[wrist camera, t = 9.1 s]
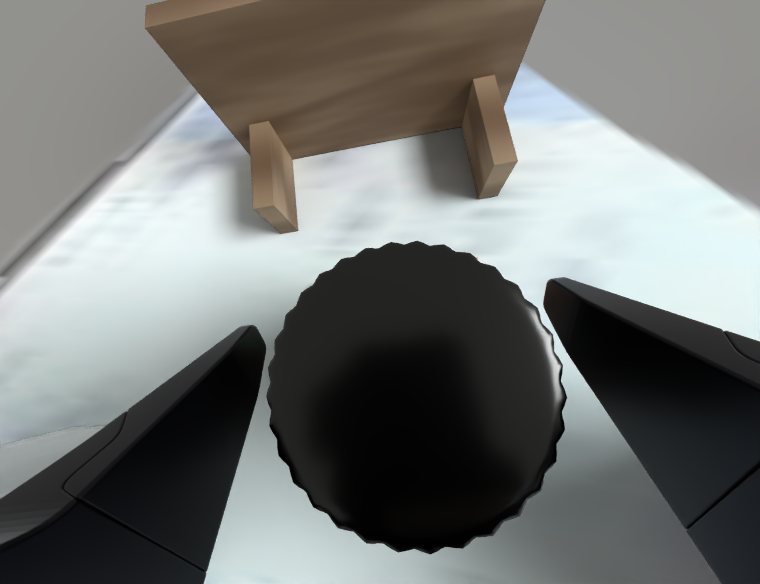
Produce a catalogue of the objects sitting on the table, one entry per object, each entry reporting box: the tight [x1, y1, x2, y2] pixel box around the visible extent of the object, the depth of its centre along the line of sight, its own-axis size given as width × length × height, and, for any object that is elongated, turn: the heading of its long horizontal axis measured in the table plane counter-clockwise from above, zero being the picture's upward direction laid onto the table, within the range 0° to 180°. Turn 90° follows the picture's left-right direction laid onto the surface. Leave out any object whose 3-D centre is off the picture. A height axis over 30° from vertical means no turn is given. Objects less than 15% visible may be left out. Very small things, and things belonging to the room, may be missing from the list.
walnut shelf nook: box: [145, 0, 546, 234], centre depth 15 cm, size 7×17×9 cm, turn 98°
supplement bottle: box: [266, 241, 567, 554], centre depth 10 cm, size 7×7×12 cm
